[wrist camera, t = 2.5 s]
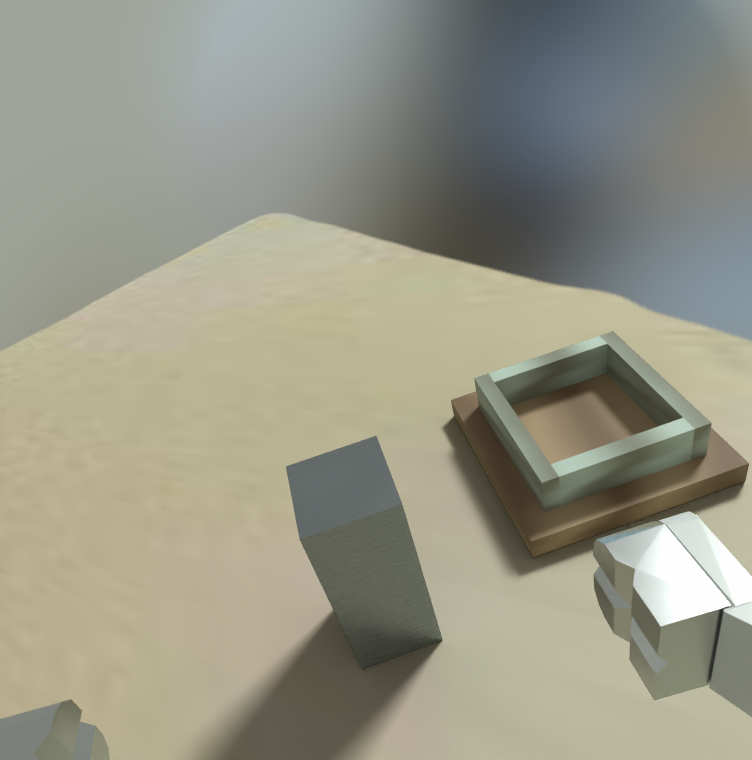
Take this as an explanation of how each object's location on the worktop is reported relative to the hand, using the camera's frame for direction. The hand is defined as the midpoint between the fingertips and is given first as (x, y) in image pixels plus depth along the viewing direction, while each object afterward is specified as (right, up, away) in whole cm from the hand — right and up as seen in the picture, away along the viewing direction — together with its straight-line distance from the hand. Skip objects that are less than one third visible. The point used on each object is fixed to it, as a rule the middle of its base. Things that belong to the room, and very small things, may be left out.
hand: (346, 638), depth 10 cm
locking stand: (+14, 0, +31) cm, 34 cm away
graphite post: (+1, -9, +24) cm, 26 cm away
